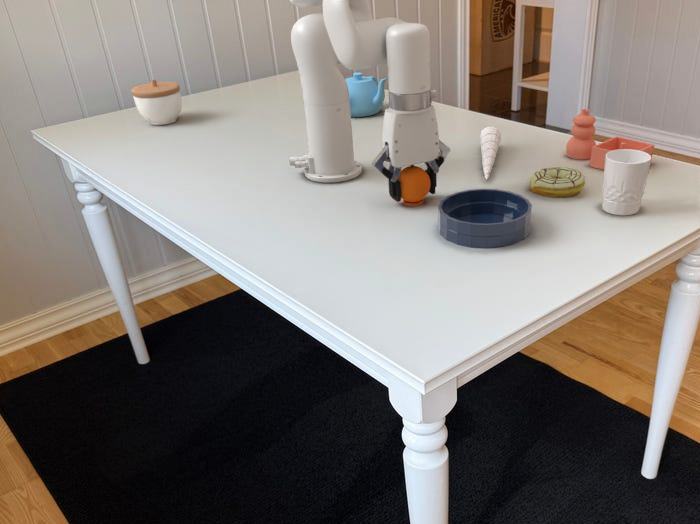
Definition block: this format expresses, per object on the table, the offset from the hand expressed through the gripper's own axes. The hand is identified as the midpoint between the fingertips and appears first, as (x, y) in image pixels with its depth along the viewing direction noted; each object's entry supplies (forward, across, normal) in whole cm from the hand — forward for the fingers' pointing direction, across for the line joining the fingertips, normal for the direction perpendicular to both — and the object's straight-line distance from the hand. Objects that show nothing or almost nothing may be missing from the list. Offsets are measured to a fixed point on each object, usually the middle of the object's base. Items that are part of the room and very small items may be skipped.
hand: (413, 194), depth 132 cm
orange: (+1, 0, 0) cm, 1 cm away
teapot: (+2, -17, -66) cm, 69 cm away
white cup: (+2, -32, +22) cm, 39 cm away
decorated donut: (+2, -28, +9) cm, 29 cm away
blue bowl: (+2, -5, +18) cm, 19 cm away
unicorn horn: (+2, -26, -13) cm, 29 cm away
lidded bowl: (+1, +32, -90) cm, 95 cm away
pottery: (+2, -47, 0) cm, 47 cm away
